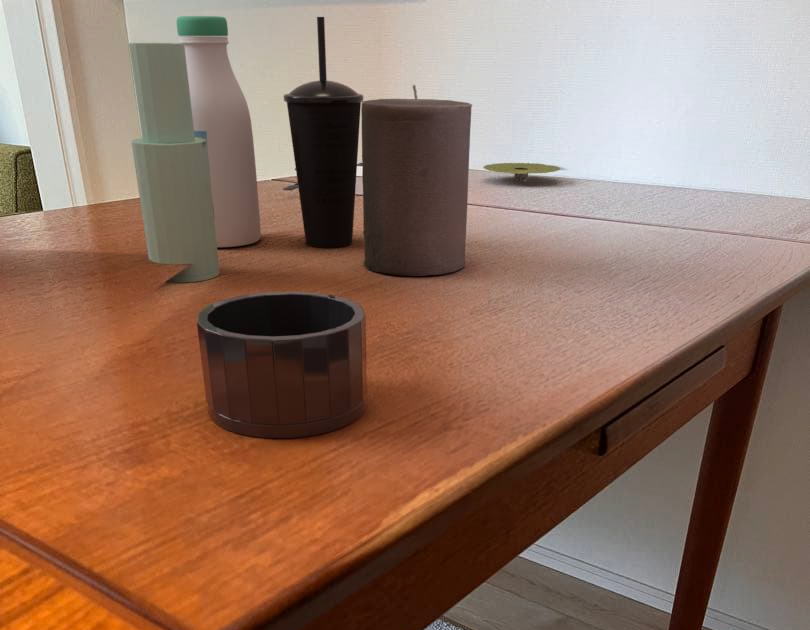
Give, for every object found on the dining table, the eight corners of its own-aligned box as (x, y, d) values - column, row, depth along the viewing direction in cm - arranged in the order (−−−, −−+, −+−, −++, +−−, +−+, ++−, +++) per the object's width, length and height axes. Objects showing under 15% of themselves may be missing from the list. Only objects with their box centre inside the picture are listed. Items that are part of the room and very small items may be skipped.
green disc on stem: (538, 189, 118) (540, 174, 117) (468, 182, 123) (469, 168, 122) (571, 180, 126) (572, 165, 125) (504, 173, 131) (505, 160, 130)
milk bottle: (254, 231, 92) (236, 17, 82) (267, 246, 86) (249, 16, 75) (183, 236, 90) (155, 16, 79) (190, 251, 84) (161, 15, 73)
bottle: (140, 281, 74) (103, 43, 64) (166, 265, 79) (136, 42, 69) (206, 284, 73) (179, 43, 64) (228, 267, 78) (205, 43, 69)
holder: (185, 433, 46) (171, 334, 43) (236, 375, 54) (227, 288, 51) (350, 443, 45) (347, 343, 42) (378, 382, 53) (377, 294, 50)
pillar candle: (346, 271, 77) (341, 86, 69) (387, 249, 85) (386, 80, 77) (446, 281, 74) (452, 89, 66) (479, 258, 82) (488, 83, 74)
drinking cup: (348, 253, 83) (341, 16, 73) (279, 247, 85) (263, 16, 75) (377, 238, 89) (374, 17, 79) (312, 233, 92) (301, 17, 81)
